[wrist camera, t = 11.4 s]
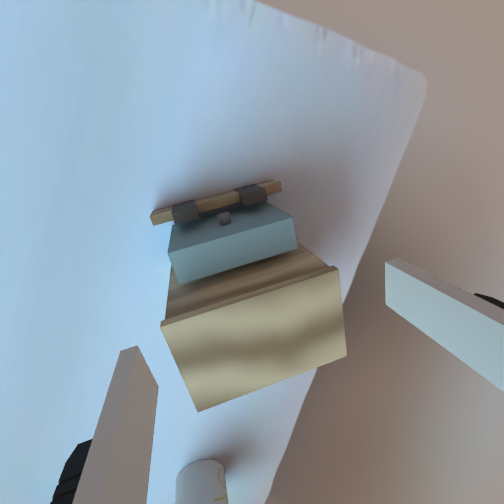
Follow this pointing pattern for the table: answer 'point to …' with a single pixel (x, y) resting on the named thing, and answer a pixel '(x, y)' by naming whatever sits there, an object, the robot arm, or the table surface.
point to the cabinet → (250, 314)
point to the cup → (201, 483)
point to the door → (229, 240)
